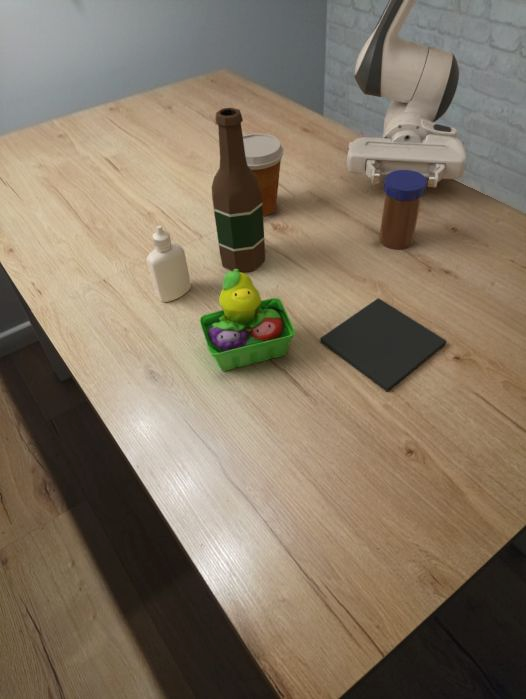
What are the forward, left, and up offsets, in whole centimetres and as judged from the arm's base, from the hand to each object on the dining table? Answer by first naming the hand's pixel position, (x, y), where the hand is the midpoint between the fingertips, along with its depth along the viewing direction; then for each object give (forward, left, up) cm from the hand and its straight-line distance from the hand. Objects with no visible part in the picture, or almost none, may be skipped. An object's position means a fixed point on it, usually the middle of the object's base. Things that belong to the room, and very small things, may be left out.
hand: (403, 181), depth 87 cm
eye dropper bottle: (+41, -10, -7) cm, 43 cm away
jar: (+6, +4, -6) cm, 10 cm away
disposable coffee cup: (+16, -19, -7) cm, 26 cm away
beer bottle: (+28, -9, -7) cm, 30 cm away
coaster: (+26, +19, -6) cm, 33 cm away
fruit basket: (+40, +7, -7) cm, 41 cm away
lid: (+6, +4, +4) cm, 8 cm away
